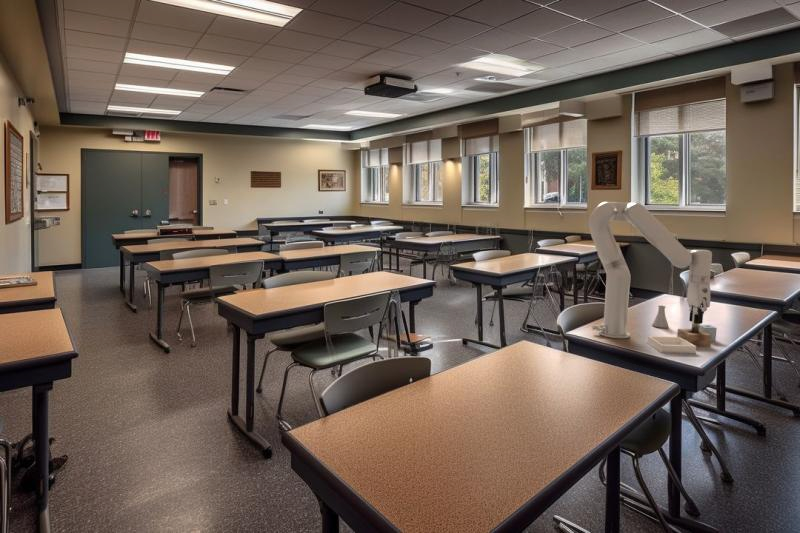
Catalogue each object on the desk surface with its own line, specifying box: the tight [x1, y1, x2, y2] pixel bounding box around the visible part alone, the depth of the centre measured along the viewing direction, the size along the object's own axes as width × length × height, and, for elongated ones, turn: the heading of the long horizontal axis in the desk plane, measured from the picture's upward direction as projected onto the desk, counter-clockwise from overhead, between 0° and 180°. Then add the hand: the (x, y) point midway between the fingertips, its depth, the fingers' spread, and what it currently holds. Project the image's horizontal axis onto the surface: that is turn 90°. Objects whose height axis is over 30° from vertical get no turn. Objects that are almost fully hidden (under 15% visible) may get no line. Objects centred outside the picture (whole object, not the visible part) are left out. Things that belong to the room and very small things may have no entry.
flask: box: [651, 305, 670, 329], centre depth 231 cm, size 7×7×10 cm
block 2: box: [699, 324, 718, 342], centre depth 210 cm, size 5×5×6 cm
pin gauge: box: [691, 306, 702, 333], centre depth 203 cm, size 3×3×12 cm
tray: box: [646, 335, 697, 355], centre depth 197 cm, size 13×13×3 cm
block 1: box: [676, 328, 712, 348], centre depth 204 cm, size 9×9×5 cm
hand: (695, 322), depth 203 cm, fingers closed on pin gauge, 2 cm apart
